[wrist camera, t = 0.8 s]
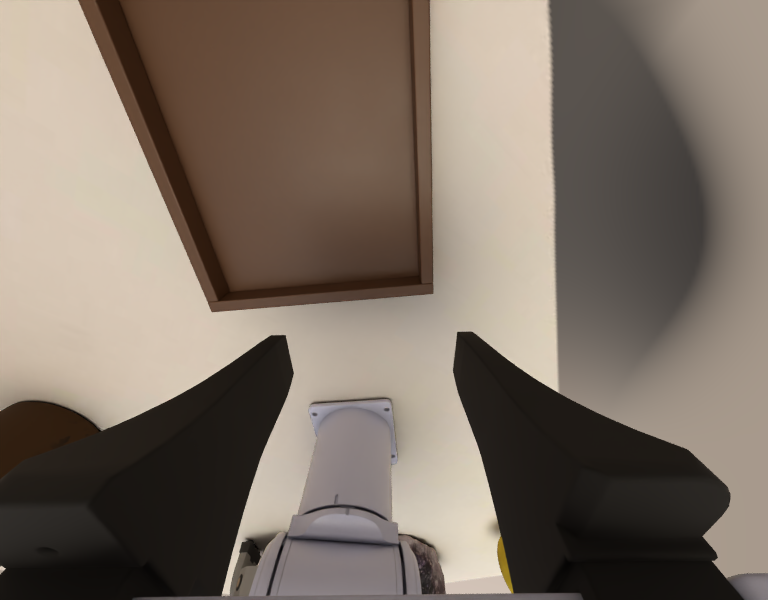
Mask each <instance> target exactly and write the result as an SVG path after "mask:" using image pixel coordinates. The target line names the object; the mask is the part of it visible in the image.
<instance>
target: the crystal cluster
mask: <svg viewBox="0 0 768 600" xmlns="http://www.w3.org/2000/svg"><path fill="white" fill-rule="evenodd" d="M398 540H399V541H406V542H407V543H408V544H409V546H410V549H411V550H412V551H413V553H414V555H415V557H416V560H417V563H418V568H419V574H420V581H421V591H422V594H446V593H445V582H444V575H443V573H442V569H441V566H440V564H439V562H438V558H437V553H436V551H435V549H434V548H432V547H428V546H427V545H426V544H423V543H421V542H420V541H418V540H416V539H414V538H412V537H410V536H408V535H400V536H398Z"/></svg>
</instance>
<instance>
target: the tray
mask: <svg viewBox="0 0 768 600" xmlns="http://www.w3.org/2000/svg"><path fill="white" fill-rule="evenodd" d="M78 1H79V3H80V5H81V8H82V10H83V12H84V15H85V17H86V19H87V22H88V24H89V26H90V29H91V31H92V33H93V36H94V38H95V40H96V43H97V45H98V47H99V50H100V52H101V54H102V57H103V59H104V61H105V64H106V66H107V68H108V71H109V73H110V75H111V78H112V80H113V82H114V85H115V87H116V89H117V92H118V94H119V96H120V99H121V101H122V103H123V106H124V108H125V110H126V113H127V115H128V117H129V120H130V122H131V124H132V127H133V129H134V131H135V134H136V136H137V138H138V141H139V143H140V145H141V148H142V150H143V152H144V155H145V157H146V159H147V162H148V164H149V166H150V169H151V171H152V173H153V176H154V178H155V180H156V183H157V185H158V187H159V190H160V192H161V194H162V197H163V199H164V201H165V204H166V206H167V208H168V211H169V213H170V215H171V218H172V220H173V222H174V225H175V227H176V229H177V232H178V234H179V236H180V238H181V241H182V243H183V245H184V248H185V250H186V252H187V255H188V257H189V259H190V262H191V264H192V266H193V269H194V271H195V273H196V276H197V278H198V280H199V283H200V285H201V287H202V290H203V292H204V294H205V297H206V299H207V301H208V304H209V307H210V309H211V311H212V312H220V311H232V310H244V309H256V308H268V307H280V306H292V305H304V304H316V303H328V302H341V301H353V300H365V299H377V298H389V297H401V296H413V295H425V294H433V232H432V153H431V74H430V0H78Z"/></svg>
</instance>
